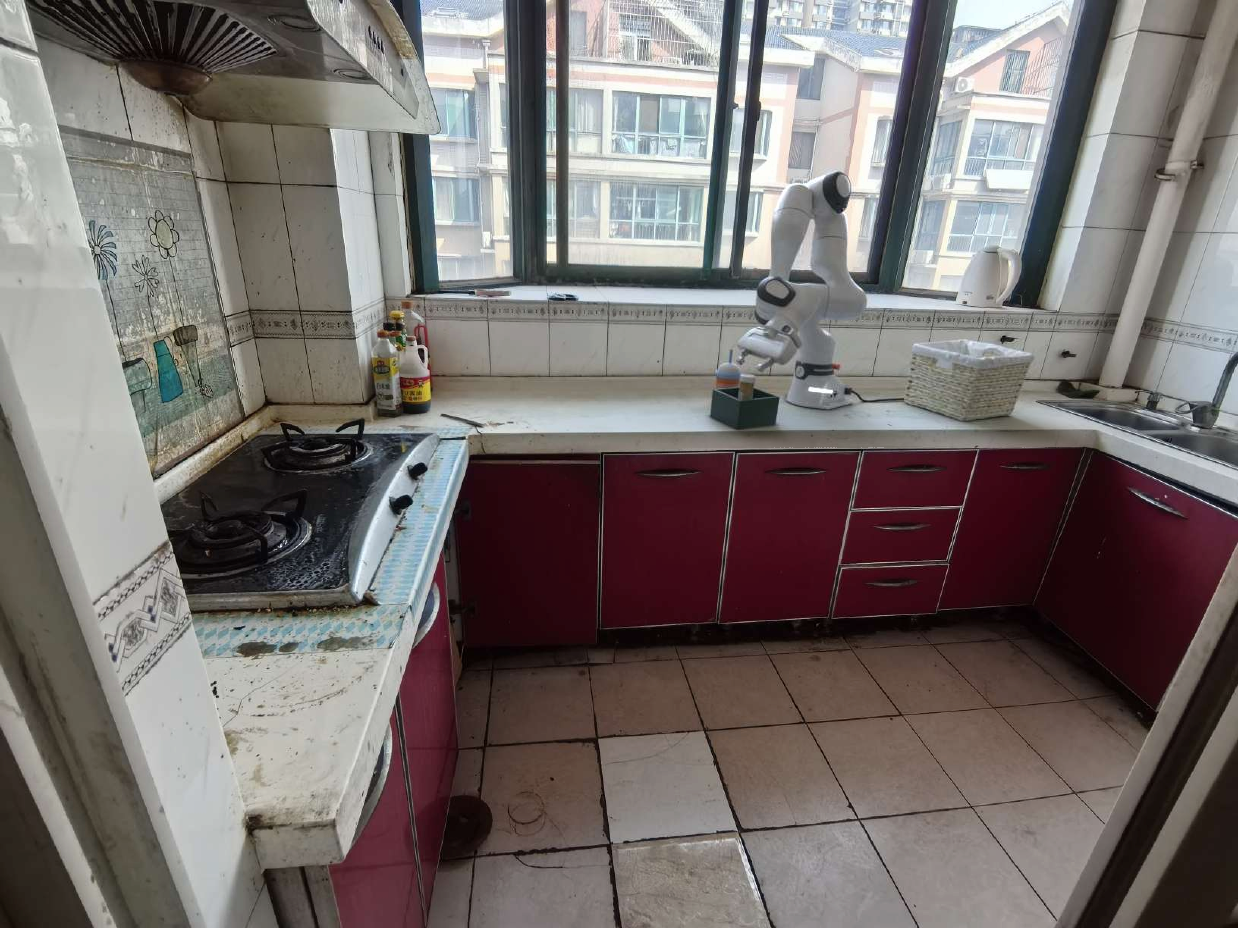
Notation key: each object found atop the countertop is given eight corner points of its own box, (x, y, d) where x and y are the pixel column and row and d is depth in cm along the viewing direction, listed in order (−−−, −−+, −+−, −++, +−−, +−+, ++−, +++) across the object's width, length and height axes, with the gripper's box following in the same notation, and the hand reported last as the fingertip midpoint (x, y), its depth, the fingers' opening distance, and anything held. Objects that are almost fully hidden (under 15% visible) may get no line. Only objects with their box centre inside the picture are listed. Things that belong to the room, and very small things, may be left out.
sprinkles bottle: (749, 421, 178) (755, 377, 173) (734, 419, 179) (739, 376, 174) (750, 417, 182) (756, 374, 177) (735, 415, 183) (741, 372, 178)
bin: (747, 411, 190) (750, 385, 187) (775, 424, 179) (779, 396, 175) (709, 416, 184) (712, 389, 180) (736, 429, 172) (740, 401, 169)
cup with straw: (738, 408, 193) (745, 353, 186) (710, 405, 194) (716, 351, 187) (739, 401, 201) (745, 348, 194) (712, 398, 203) (717, 346, 196)
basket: (963, 425, 187) (982, 356, 179) (895, 401, 209) (910, 340, 201) (1019, 417, 197) (1039, 352, 189) (948, 396, 220) (964, 337, 212)
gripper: (751, 319, 182) (721, 352, 181) (798, 330, 165) (765, 367, 164) (760, 333, 185) (731, 365, 185) (807, 346, 169) (775, 382, 168)
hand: (748, 366), depth 174 cm, fingers open, 8 cm apart
